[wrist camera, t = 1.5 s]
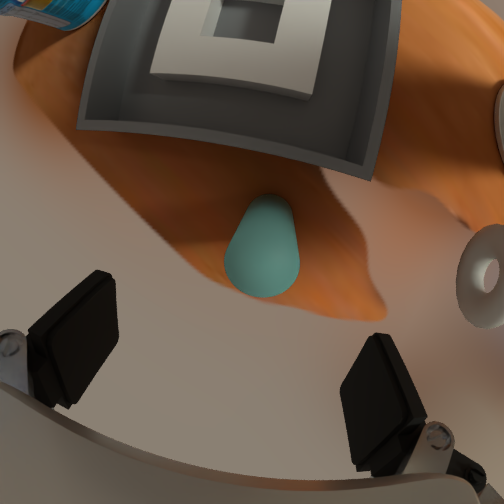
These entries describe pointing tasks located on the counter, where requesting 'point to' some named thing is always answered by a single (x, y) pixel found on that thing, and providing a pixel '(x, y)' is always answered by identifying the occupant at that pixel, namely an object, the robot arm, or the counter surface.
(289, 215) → the peg
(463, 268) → the donut
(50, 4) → the beverage bottle
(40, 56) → the counter surface
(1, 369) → the robot arm
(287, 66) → the open box
